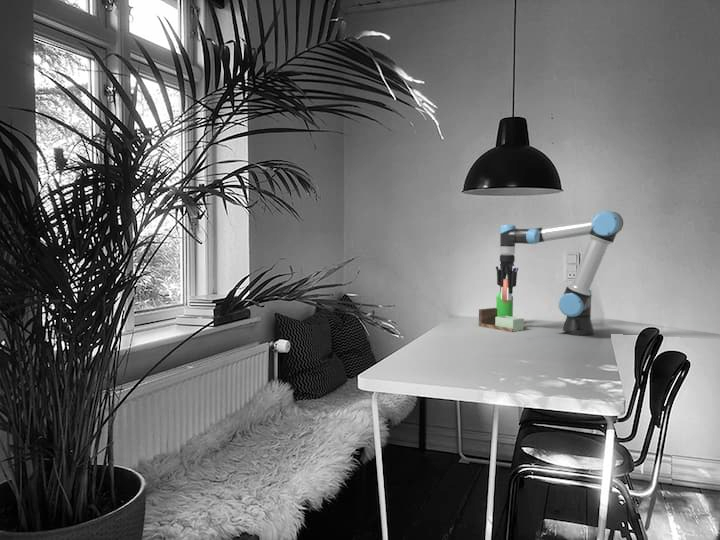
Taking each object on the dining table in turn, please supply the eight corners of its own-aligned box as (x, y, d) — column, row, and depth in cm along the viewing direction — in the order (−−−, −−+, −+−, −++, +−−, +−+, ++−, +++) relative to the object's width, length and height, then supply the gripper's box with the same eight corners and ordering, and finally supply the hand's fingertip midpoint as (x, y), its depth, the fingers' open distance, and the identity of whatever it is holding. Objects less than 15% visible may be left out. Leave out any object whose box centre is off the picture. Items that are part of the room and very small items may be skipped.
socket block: (523, 330, 328) (523, 318, 328) (512, 331, 324) (513, 319, 323) (505, 326, 338) (505, 315, 338) (495, 328, 333) (495, 316, 333)
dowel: (510, 302, 332) (511, 279, 331) (506, 302, 330) (507, 279, 329) (505, 301, 334) (506, 279, 334) (501, 302, 332) (501, 279, 332)
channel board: (527, 332, 329) (527, 312, 328) (511, 334, 322) (512, 314, 321) (494, 326, 347) (494, 307, 347) (478, 328, 341) (478, 309, 340)
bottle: (514, 324, 355) (515, 279, 353) (509, 326, 347) (510, 280, 346) (499, 323, 359) (500, 278, 358) (493, 325, 352) (494, 280, 350)
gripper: (524, 255, 326) (523, 300, 327) (500, 253, 339) (499, 297, 341) (514, 255, 321) (513, 301, 323) (490, 254, 335) (489, 298, 337)
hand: (506, 299), depth 332 cm, fingers closed on dowel, 3 cm apart
